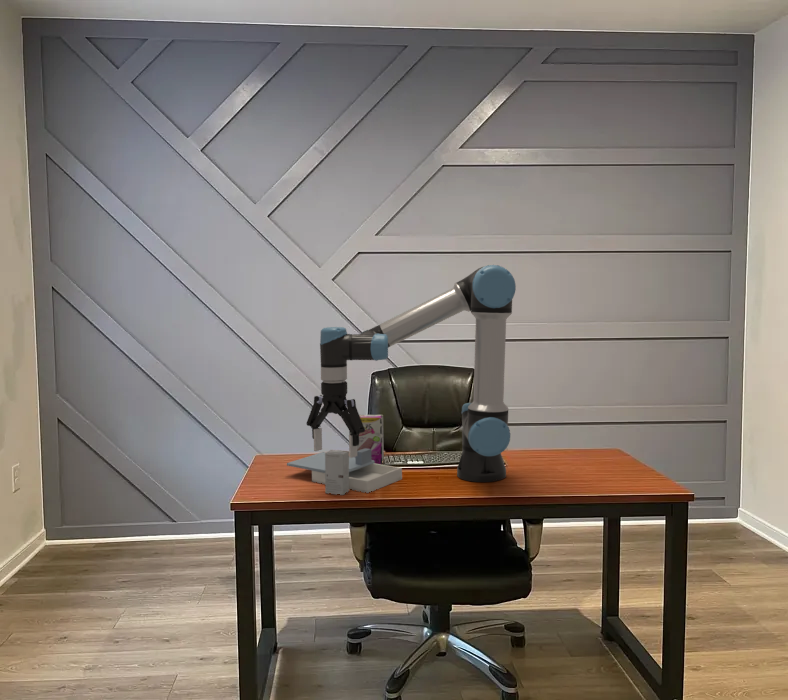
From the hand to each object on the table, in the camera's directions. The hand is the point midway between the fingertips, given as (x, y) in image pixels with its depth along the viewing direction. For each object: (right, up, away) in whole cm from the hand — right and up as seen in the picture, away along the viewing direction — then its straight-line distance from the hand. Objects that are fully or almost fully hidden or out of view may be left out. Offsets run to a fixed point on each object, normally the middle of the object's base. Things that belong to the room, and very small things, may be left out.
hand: (335, 453), depth 202 cm
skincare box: (+1, -12, +1) cm, 12 cm away
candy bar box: (+8, -8, +33) cm, 35 cm away
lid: (-3, -6, +19) cm, 20 cm away
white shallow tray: (+6, -10, +13) cm, 17 cm away
